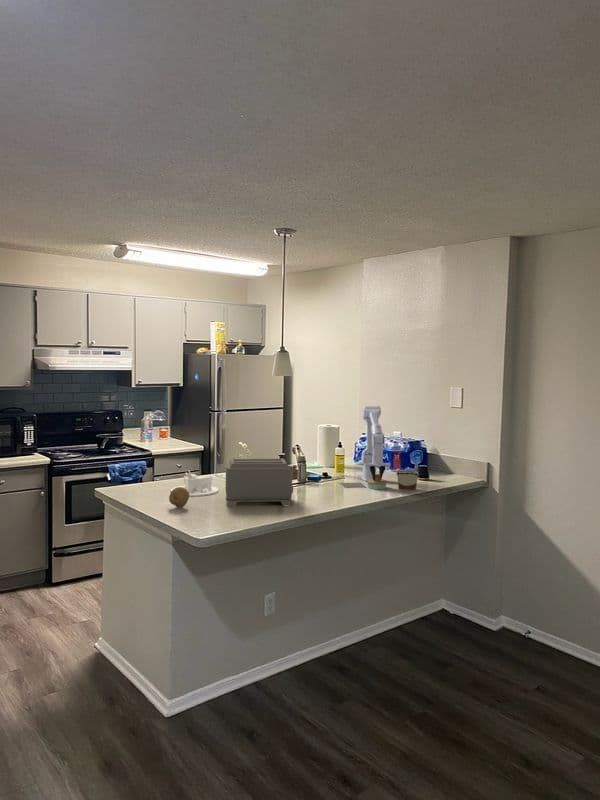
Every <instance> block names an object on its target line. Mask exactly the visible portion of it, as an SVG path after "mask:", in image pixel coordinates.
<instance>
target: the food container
mask: <svg viewBox="0 0 600 800" xmlns="http://www.w3.org/2000/svg"><path fill="white" fill-rule="evenodd" d="M396 476H397V486H398V491H399V490H400V491H401V490H402V491H416V490H417V483H418V477H420V475H419V471H416V470H411V469H410V470H409V469H401V470H397V471H396Z"/></svg>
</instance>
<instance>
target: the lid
mask: <svg viewBox="0 0 600 800" xmlns="http://www.w3.org/2000/svg"><path fill="white" fill-rule="evenodd" d="M380 477H381V475H379V473H378V474H377V473H376V474H375V480H373V479H369V480H367V481H366V483H367V484H368V483H370V484H386V485H387V484H388V481H387V480H385V479H383V478H382V479H381V480H380Z"/></svg>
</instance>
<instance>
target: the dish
mask: <svg viewBox="0 0 600 800" xmlns="http://www.w3.org/2000/svg"><path fill="white" fill-rule="evenodd" d="M187 471H188V472H185V476H183V485H179V486H174V487H172V488H171V489H170V491H171V492H172V490H173V489H175V488H177V487H183V488H185V489H186V490H187V491H188V492H189V497H205V496H204V495H207V496H212V495H216V494H218V493H219V488H218V487H217V486H213V477H212V476H198V475H196V474H195V473H191V471H190V470H189V469H187ZM171 492H170V493H171ZM217 492H218V493H217ZM211 494H212V495H211Z"/></svg>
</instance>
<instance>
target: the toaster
mask: <svg viewBox="0 0 600 800" xmlns="http://www.w3.org/2000/svg"><path fill="white" fill-rule="evenodd" d="M297 468H298V466H297V465H295V464H293V465H289V464H288V463H287V461H286V460H285V458H231V459H229V461H228V462H226V463H225V486H224V487H225V501H227V502H226V504H225V506H227V507H226V508H236V506H237V504H238V503H240V502H241V503H242V502H243V503H245V502H246V503H247V502H248V503H250V502H251V503H253V502H255V503H256V502H280V503H281V505H282V506H283V505H291V506H292V503H291V499H292V495H293V492H294V486H293V470H294V471H295V470H297ZM232 506H233V507H232Z"/></svg>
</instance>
